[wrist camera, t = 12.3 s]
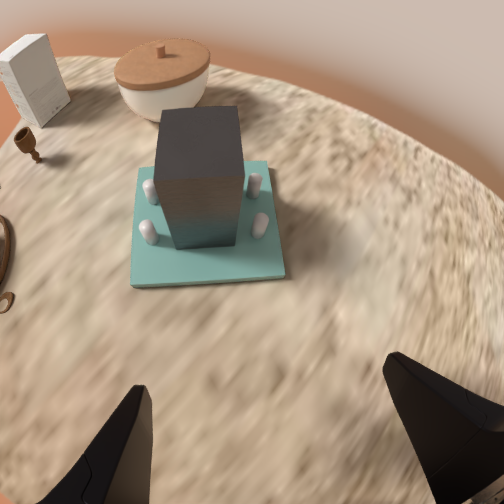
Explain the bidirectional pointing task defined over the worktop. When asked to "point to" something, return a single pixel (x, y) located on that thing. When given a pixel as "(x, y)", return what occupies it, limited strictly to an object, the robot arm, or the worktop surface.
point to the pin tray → (207, 259)
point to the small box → (33, 79)
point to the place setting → (26, 145)
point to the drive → (200, 175)
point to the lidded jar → (163, 76)
